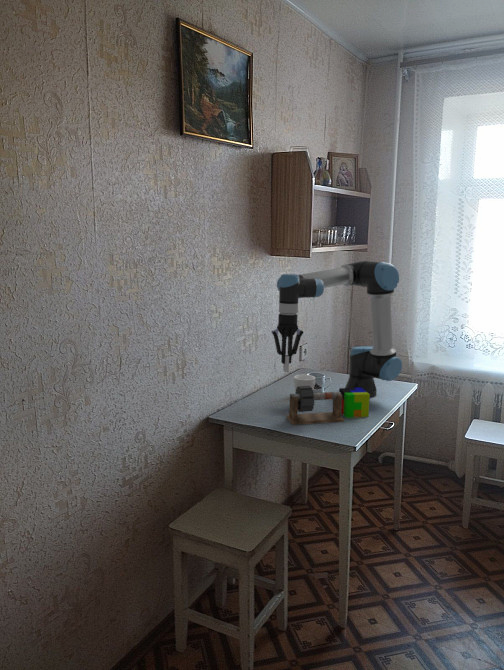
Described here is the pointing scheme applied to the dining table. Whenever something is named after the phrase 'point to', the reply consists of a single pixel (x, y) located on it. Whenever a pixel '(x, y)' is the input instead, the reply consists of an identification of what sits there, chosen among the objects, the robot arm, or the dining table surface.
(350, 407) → the puzzle toy
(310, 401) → the dark gray notched block
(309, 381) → the foam cup
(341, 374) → the dining table surface
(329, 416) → the pipe rig
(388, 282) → the robot arm
